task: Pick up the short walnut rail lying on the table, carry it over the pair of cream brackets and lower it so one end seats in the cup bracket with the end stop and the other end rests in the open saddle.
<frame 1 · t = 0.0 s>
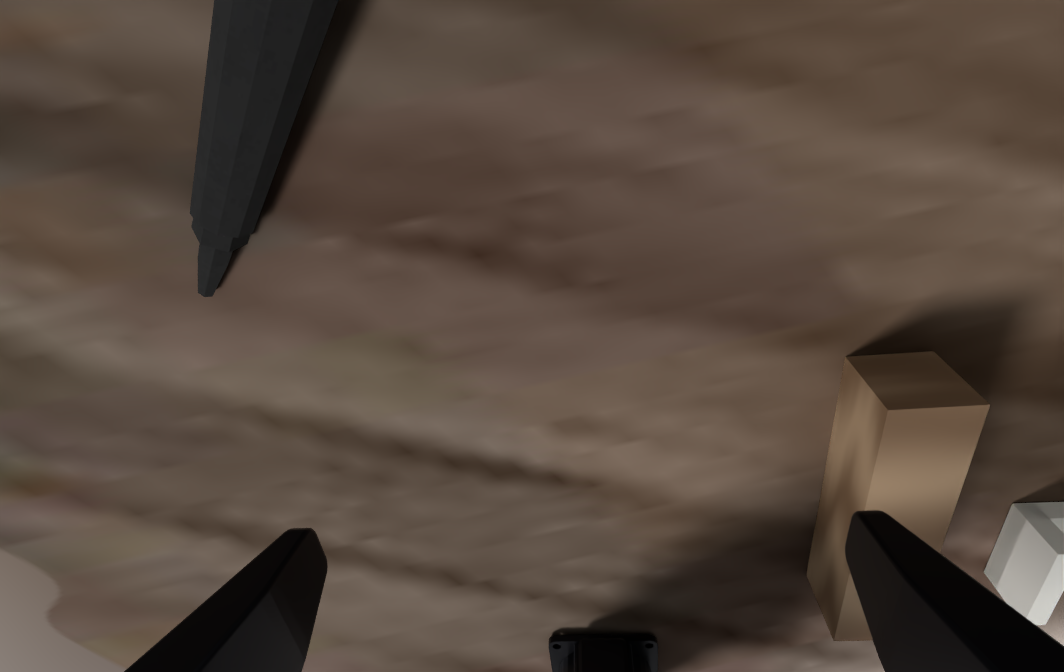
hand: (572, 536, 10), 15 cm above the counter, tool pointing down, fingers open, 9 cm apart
rail: (859, 473, 28), on the counter
microphone: (271, 48, 20), on the counter
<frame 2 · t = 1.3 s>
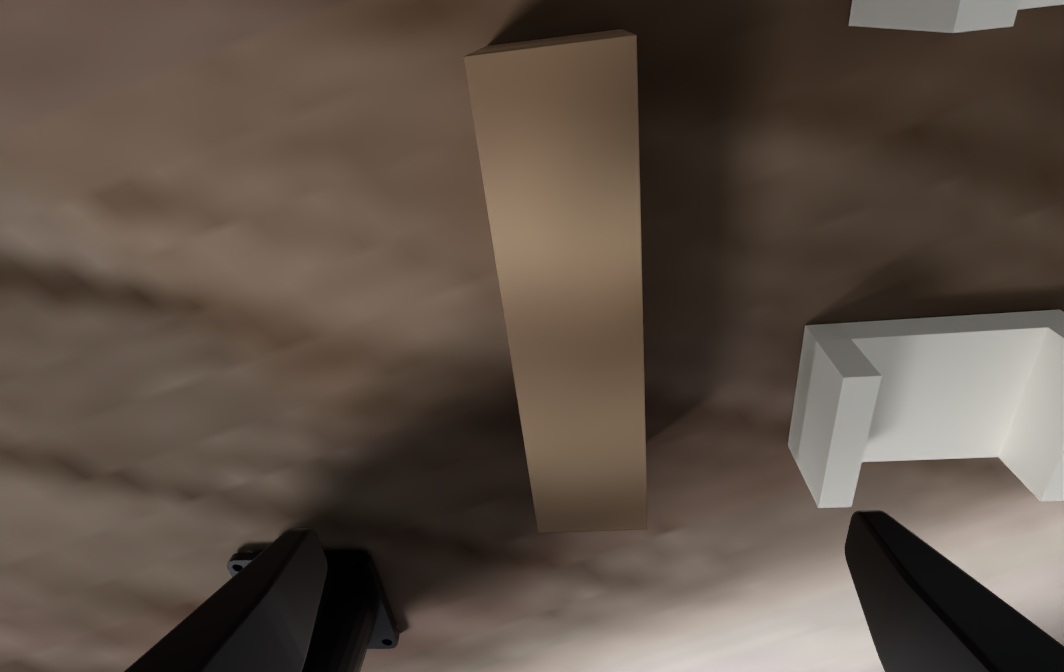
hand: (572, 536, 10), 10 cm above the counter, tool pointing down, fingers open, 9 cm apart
rail: (574, 280, 18), on the counter
rail brackets: (963, 191, 16), on the counter
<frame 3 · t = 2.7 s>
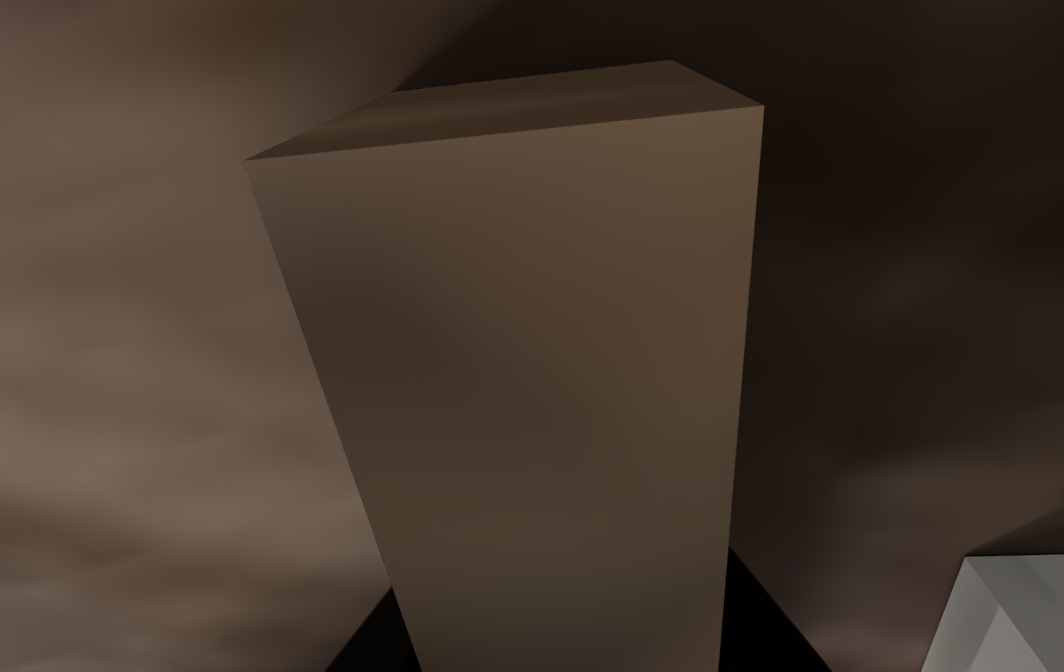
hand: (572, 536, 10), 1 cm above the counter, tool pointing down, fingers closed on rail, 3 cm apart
rail: (571, 483, 11), on the counter, touching gripper
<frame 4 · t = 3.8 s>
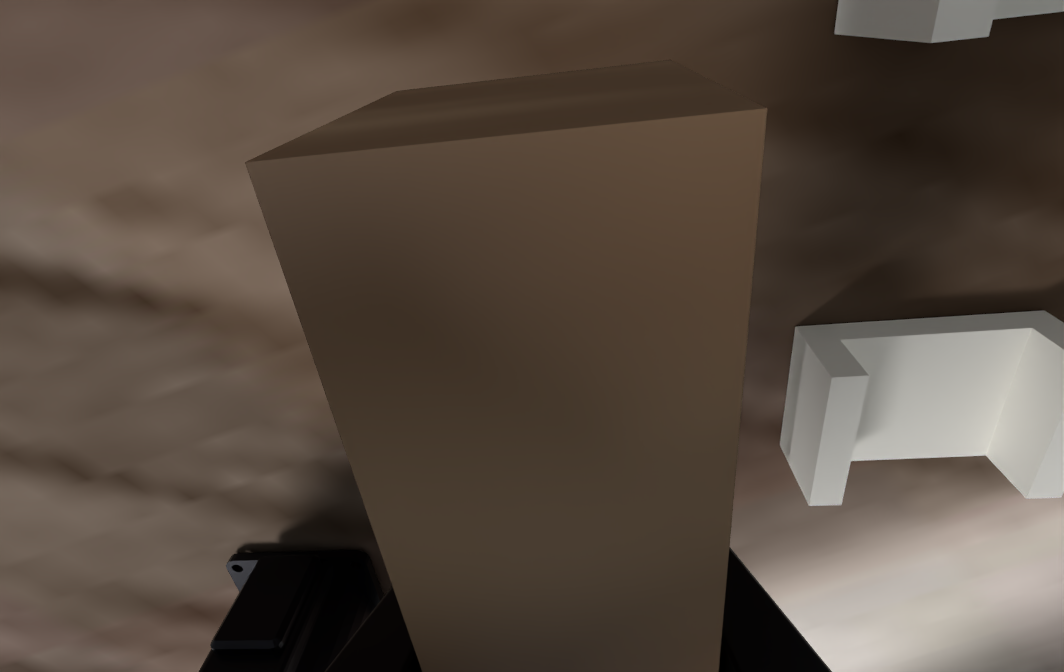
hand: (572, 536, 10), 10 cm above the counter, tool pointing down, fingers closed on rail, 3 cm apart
rail: (571, 484, 11), point 9 cm above the counter, touching gripper
rail brackets: (947, 195, 16), on the counter
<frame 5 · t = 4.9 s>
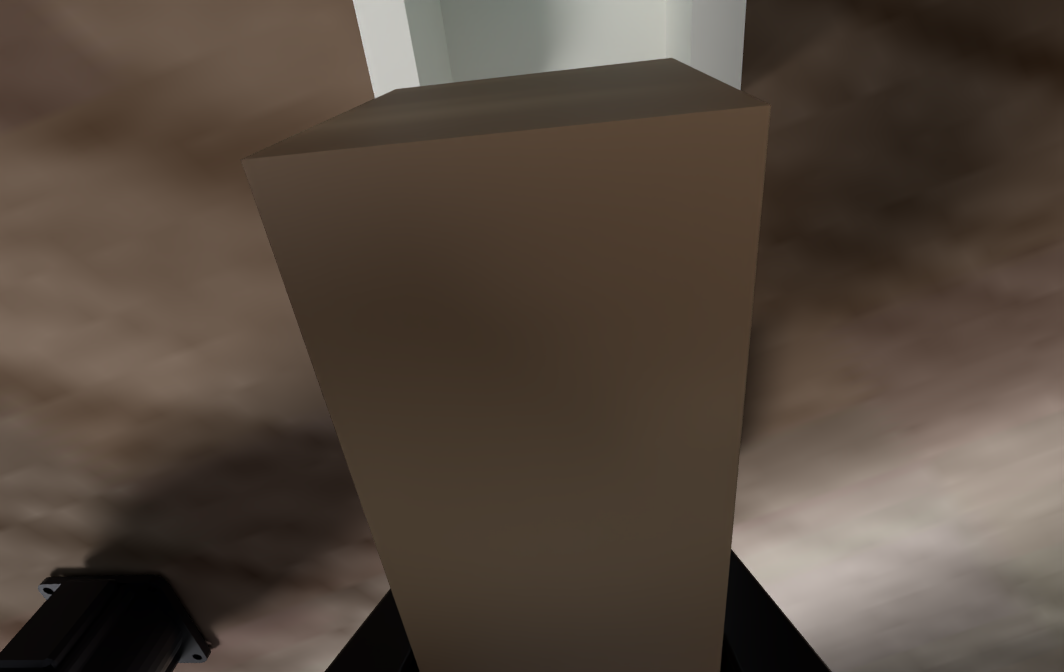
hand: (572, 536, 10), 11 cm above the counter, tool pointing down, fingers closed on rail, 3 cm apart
rail: (571, 485, 11), point 9 cm above the counter, touching gripper
rail brackets: (574, 279, 19), on the counter
when the fingers open (3 cm above the counter, at t = 6.7 s): rail drops 1 cm, resting on rail brackets.
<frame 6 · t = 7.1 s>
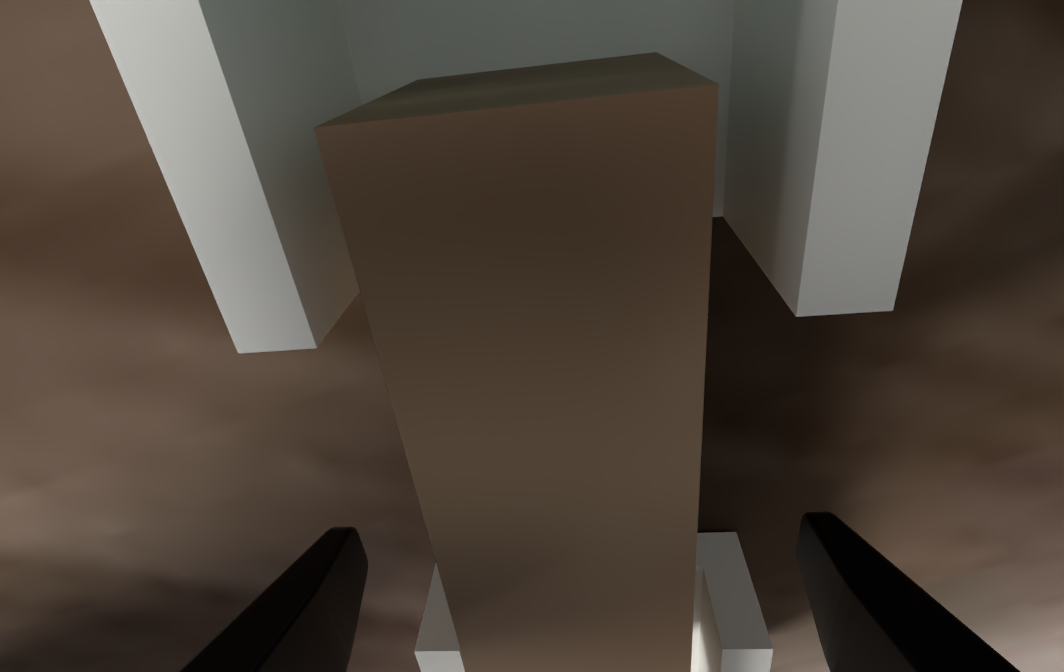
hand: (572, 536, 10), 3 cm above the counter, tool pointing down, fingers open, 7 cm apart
rail: (570, 439, 12), point 1 cm above the counter, touching rail brackets
rail brackets: (573, 410, 13), on the counter
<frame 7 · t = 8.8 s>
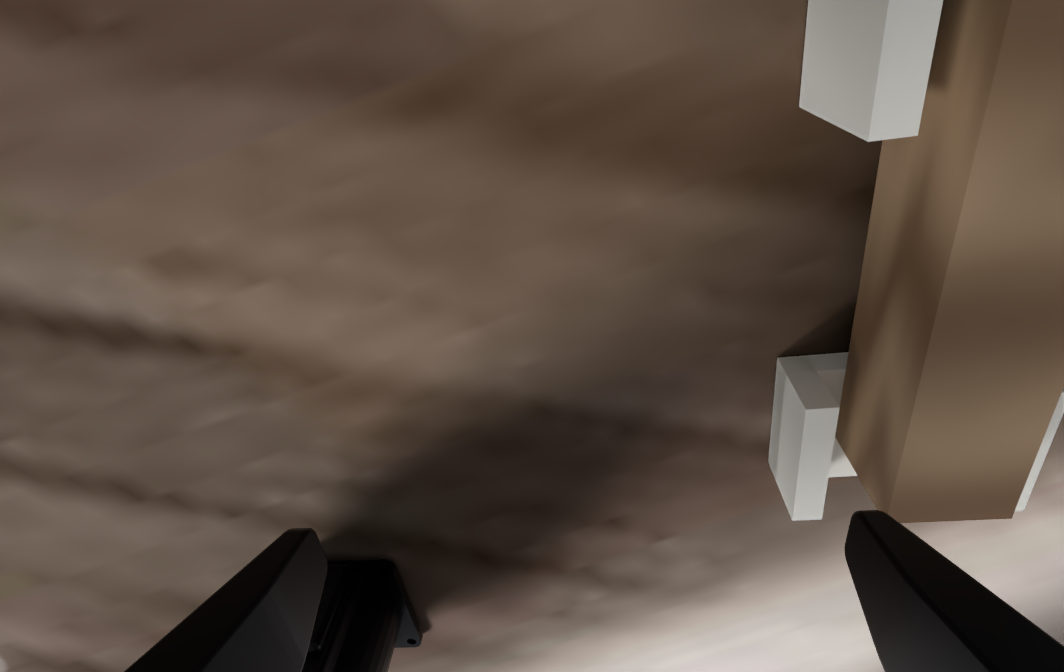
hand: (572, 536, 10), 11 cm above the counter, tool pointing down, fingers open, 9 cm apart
rail: (925, 253, 17), point 1 cm above the counter, touching rail brackets
rail brackets: (910, 241, 18), on the counter
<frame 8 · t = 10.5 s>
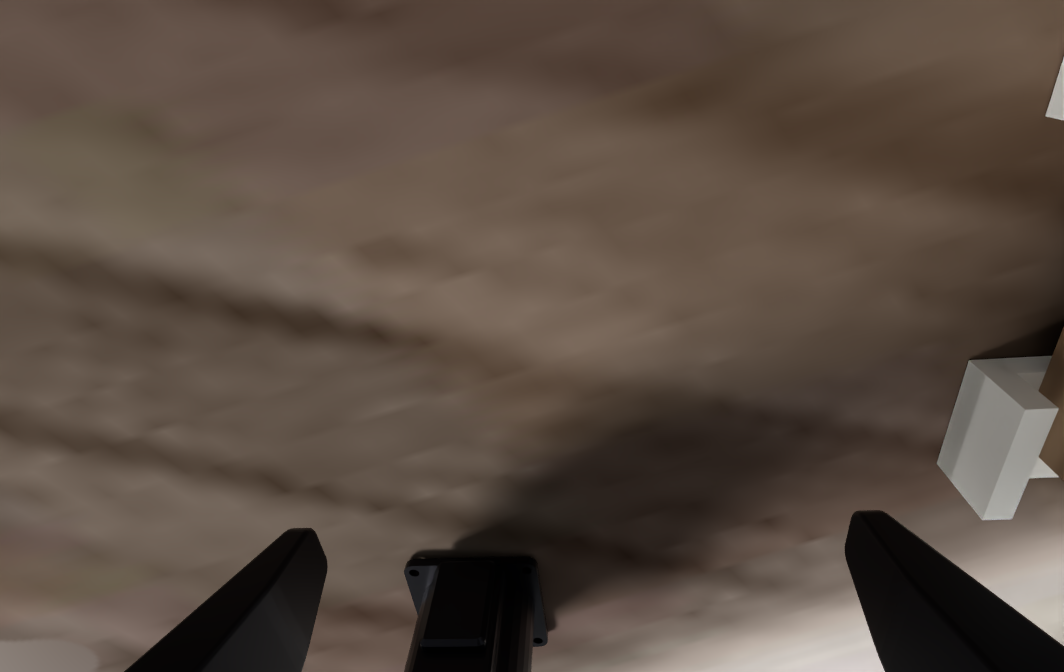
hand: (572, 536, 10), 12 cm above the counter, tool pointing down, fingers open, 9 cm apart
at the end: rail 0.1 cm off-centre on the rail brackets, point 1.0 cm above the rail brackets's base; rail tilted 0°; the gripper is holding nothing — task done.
